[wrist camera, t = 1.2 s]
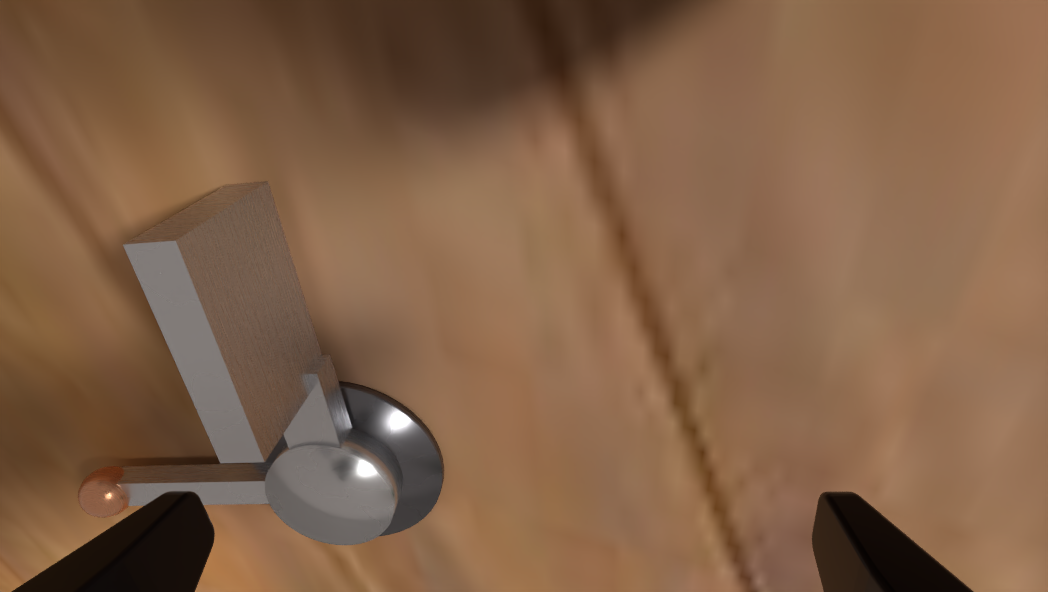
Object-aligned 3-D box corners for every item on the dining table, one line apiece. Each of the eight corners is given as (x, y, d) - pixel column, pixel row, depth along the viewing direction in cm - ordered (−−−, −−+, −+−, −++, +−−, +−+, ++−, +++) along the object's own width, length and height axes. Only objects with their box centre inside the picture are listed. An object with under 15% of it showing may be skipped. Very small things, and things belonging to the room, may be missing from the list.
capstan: (325, 174, 19) (245, 235, 14) (415, 513, 25) (379, 626, 21) (-48, 207, 20) (-223, 270, 16) (127, 516, 27) (38, 621, 23)
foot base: (424, 376, 23) (421, 383, 22) (458, 528, 26) (456, 536, 26) (225, 384, 24) (220, 390, 23) (285, 530, 27) (280, 537, 27)
